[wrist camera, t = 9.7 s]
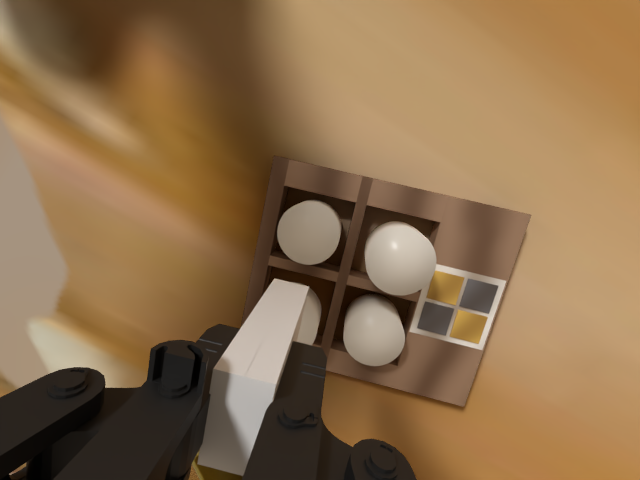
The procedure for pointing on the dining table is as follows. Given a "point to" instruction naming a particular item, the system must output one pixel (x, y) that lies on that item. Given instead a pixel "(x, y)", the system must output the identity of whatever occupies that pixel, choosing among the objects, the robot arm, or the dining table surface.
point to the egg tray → (426, 304)
